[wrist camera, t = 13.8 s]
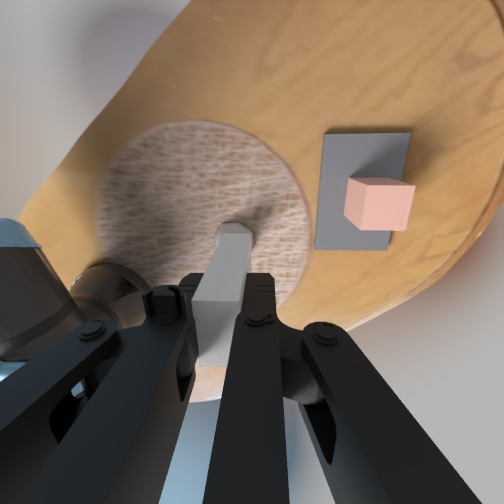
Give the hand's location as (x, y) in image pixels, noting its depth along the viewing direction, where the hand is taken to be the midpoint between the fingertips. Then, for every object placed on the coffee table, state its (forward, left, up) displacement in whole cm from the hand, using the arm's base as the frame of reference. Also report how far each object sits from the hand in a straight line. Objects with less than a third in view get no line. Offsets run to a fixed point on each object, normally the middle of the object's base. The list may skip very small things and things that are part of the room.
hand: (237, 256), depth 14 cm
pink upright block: (+17, -2, -28) cm, 33 cm away
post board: (+16, -2, -29) cm, 34 cm away
